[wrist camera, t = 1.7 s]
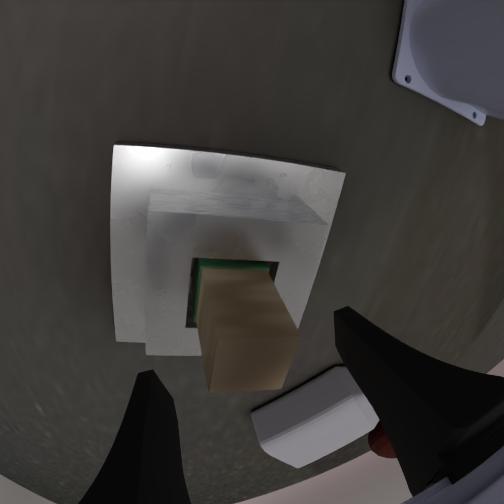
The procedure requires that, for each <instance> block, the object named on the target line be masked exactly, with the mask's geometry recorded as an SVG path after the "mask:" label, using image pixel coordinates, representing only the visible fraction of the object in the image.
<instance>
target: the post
mask: <svg viewBox="0 0 504 504" xmlns="http://www.w3.org/2000/svg"><path fill="white" fill-rule="evenodd" d="M191 290H192V297H193V311H192V313H193V319H194V322H196V323H197V329H198V335H199V341H200V347H201V353H202V359H203V364H204V370H205V375H206V380H207V386H208V391H209V394H210V393H232V392H248V391H261V390H272V389H281V388H282V385H283V383H284V380H285V378H286V375H287V373H288V370H289V368H290V365H291V362H292V360H293V357H294V355H295V352H296V349H297V347H298V344H299V341H300V339H301V335H300V333H299V331H298V329H297V327H296V325H295V323H294V321H293V319H292V317H291V316H290V314H289V312H288V310H287V308H286V306H285V304H284V302H283V300H282V298H281V296H280V294H279V292H278V291H277V289H276V287H275V285H274V283H273V281H272V279H271V277H270V275H269V267H268V265H267V263H266V261H255V260H233V259H212V258H194V266H193V275H192V285H191Z"/></svg>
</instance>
